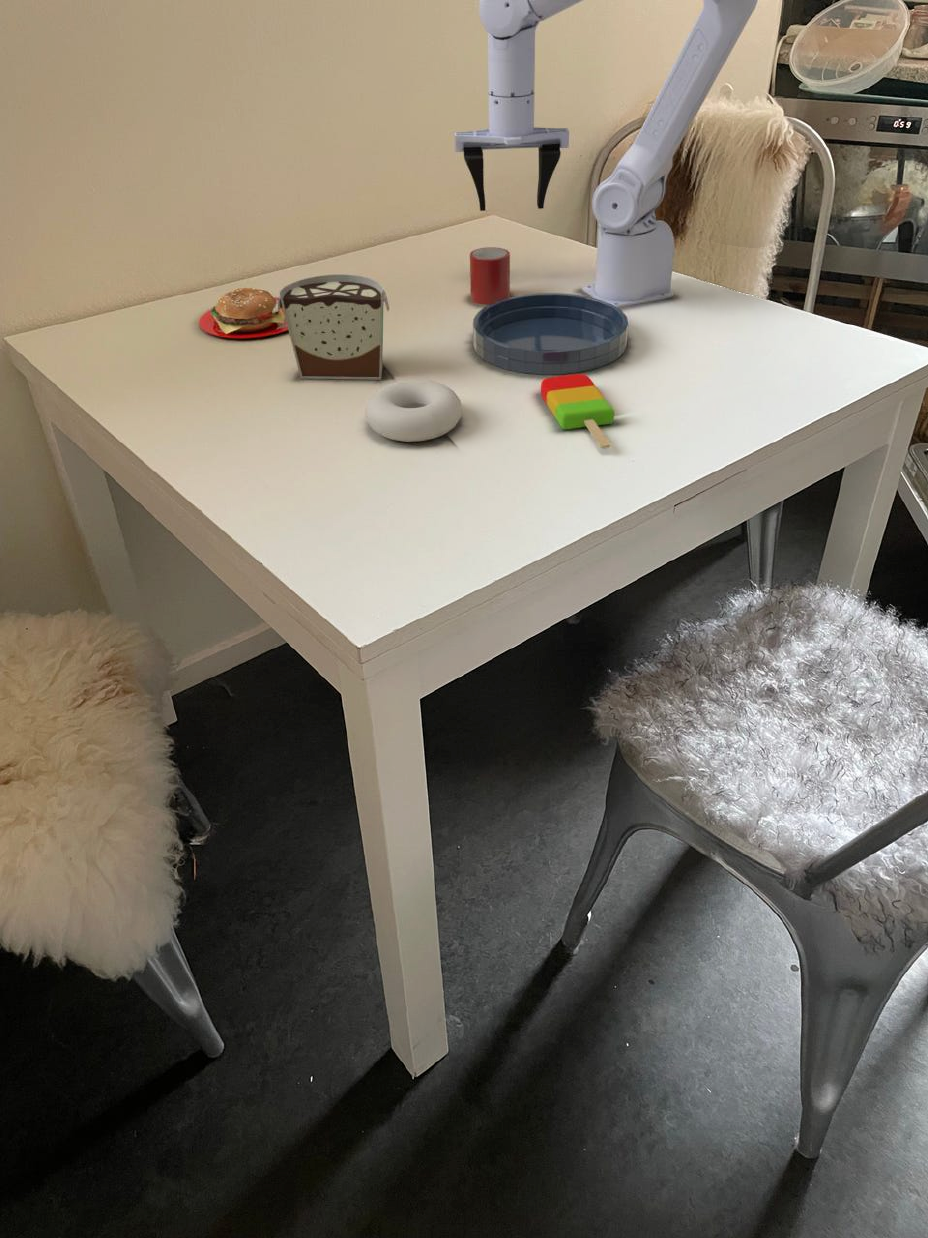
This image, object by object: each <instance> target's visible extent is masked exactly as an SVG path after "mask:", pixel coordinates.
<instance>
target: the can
mask: <svg viewBox="0 0 928 1238" xmlns="http://www.w3.org/2000/svg"><path fill="white" fill-rule="evenodd" d="M469 278H470V279H469V280H470V281H469V282H470V286H469V287H470V300H471V301H472V302H473V303H475V304H479V305H483V306H488V305H490V304H492V303H494V302H497V301H500V300H503V299H507V298H510V297H511V252H510V251H509V250H508V249H505V248H502V247H494V246H491V247H489V246H488V247H487V246H486V247H480V248H475V249H474V250H472V251H470V253H469Z"/></svg>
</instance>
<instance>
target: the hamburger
mask: <svg viewBox="0 0 928 1238" xmlns="http://www.w3.org/2000/svg"><path fill="white" fill-rule="evenodd" d="M198 320H199V321H198V325H199V327H200V329H201V330H203V331H204V332H205V333H207V334H210V335H212V336H216V337H220V338H229V339H251V338H261V337H267V336H271V335H277V334H280V333H283V332H287V331H289V330H288V326H287V322H286V318H285V314H284V310H283V307H282V308H281V309H280V310H278V297H277V296H276V297H275V296H273V295H272V294H271V293H270V292H269V291H268V290H266V289H258V288H253V287H246V286H245V287H240V288H235V289H231V291H228V292H226V293H224V294H223V295H221V296H220V297H219V298H218V299H217V303H216V304H215V306H213V307H212V308H210V309H209V310H207V311H206V312H205V313H203V315H202V314H201V316H200V318H199V319H198Z"/></svg>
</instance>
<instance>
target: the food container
mask: <svg viewBox="0 0 928 1238" xmlns="http://www.w3.org/2000/svg"><path fill="white" fill-rule="evenodd" d="M277 298H278V310H280V309H281V308H282V307H283V310H284V314H285V318H286V322H287V326H288V330H287V331H288V334H289V338H290V342H291V346H292V349H293V355H294V358H295V362H296V366H297V369H298V373H299V378H300V379H302V380H303V379H304V380H358V381H359V380H362V381H363V380H364V381H365V380H366V381H367V380H368V381H369V380H370V381H372V380H373V381H382V379H383V351H384V350H383V349H384V347H383V345H384V344H383V342H384V305H385V308H386V311H387V312H389V311H390V304H389V300H388V298H387V294H386V291H385V290H384V288H383V285H382V284H381V283H380V282H379V281H377V280H375V279H373V278H370V277H367V276H363V275H358V274H348V273H347V274H346V273H345V274H344V273H343V274H342V273H338V274H337V273H336V274H335V273H334V274H333V273H332V274H323V275H322V274H321V275H316V276H310V277H306V278H302V279H299V280H296V281H293V282H291V283H288V284H287V285H286V286H284V287H282V288H281V289H280V290H279V296H278V297H277Z"/></svg>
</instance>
